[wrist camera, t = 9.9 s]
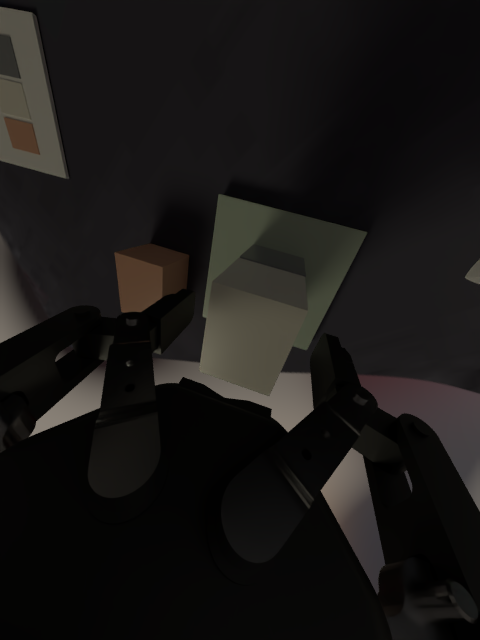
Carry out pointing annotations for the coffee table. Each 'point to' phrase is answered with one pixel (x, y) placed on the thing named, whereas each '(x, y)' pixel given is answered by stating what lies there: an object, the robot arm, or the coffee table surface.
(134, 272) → the brick terracotta
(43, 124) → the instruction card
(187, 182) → the coffee table surface
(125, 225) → the coffee table surface
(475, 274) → the cream lumpy elongated figurine
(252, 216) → the baseplate
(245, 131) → the coffee table surface
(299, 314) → the brick cream
